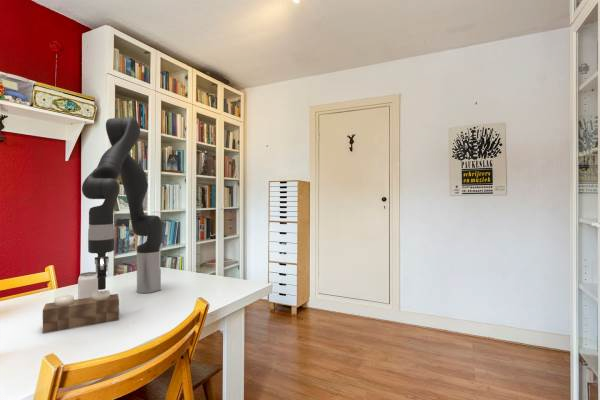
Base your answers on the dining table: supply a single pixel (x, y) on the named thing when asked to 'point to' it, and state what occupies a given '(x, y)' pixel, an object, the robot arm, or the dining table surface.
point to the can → (87, 284)
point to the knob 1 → (64, 300)
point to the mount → (80, 313)
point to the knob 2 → (100, 295)
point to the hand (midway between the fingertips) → (101, 289)
